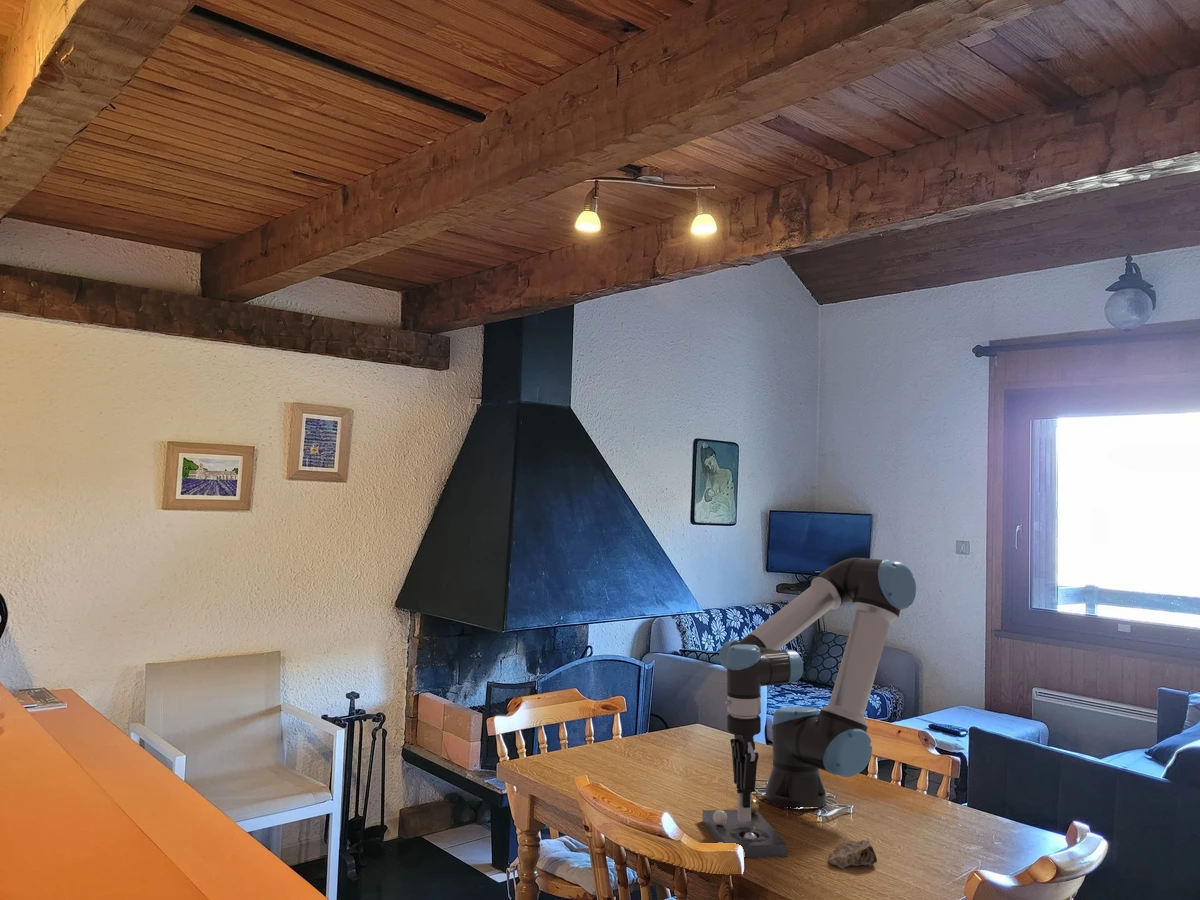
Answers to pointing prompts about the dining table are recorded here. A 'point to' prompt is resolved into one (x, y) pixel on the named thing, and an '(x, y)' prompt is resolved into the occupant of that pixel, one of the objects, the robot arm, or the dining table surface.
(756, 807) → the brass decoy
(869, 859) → the rock
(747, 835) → the steel ball
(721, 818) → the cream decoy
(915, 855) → the dining table surface
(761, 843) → the plate
